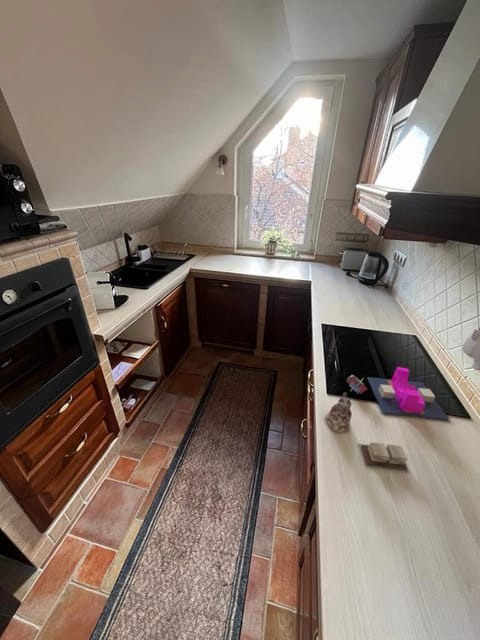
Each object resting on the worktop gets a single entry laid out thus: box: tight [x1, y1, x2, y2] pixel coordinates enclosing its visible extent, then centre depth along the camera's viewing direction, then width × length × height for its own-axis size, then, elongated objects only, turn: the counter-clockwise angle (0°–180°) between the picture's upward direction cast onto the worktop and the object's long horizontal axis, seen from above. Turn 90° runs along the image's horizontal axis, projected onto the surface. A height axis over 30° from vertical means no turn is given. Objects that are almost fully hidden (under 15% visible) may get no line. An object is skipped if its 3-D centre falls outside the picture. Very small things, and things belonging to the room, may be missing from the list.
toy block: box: [391, 366, 425, 413], centre depth 95 cm, size 15×6×8 cm, turn 164°
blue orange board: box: [366, 376, 450, 421], centre depth 96 cm, size 22×18×4 cm
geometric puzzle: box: [346, 374, 369, 395], centre depth 98 cm, size 7×7×8 cm
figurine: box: [326, 392, 352, 433], centre depth 83 cm, size 7×7×12 cm
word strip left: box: [360, 441, 408, 471], centre depth 75 cm, size 11×6×4 cm, turn 84°
